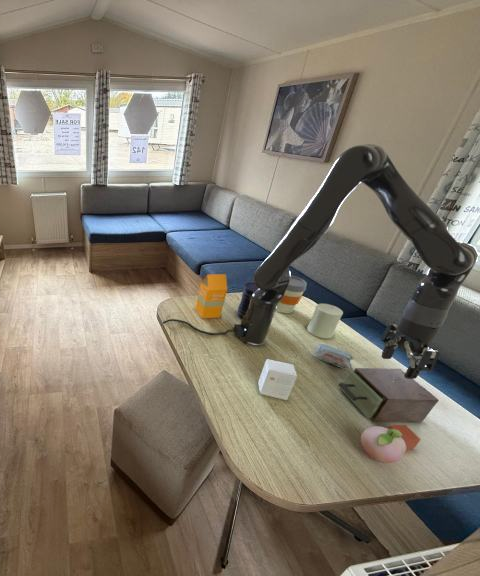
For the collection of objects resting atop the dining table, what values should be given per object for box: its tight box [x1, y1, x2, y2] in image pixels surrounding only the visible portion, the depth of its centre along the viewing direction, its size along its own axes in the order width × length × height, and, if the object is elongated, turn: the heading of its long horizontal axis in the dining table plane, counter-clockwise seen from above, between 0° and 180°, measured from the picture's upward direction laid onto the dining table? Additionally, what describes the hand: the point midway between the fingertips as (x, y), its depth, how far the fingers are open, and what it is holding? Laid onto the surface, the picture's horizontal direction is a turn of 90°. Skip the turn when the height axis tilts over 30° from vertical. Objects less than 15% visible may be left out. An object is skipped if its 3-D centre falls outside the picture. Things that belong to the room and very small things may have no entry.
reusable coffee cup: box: [275, 274, 308, 314], centre depth 145 cm, size 13×13×15 cm
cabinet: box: [353, 367, 440, 424], centre depth 95 cm, size 15×13×10 cm
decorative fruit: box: [360, 425, 407, 464], centre depth 80 cm, size 9×8×10 cm
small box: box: [257, 358, 298, 401], centre depth 99 cm, size 8×6×10 cm
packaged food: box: [312, 343, 354, 371], centre depth 114 cm, size 9×12×5 cm
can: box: [306, 303, 344, 339], centre depth 129 cm, size 9×9×12 cm
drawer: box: [338, 370, 385, 419], centre depth 95 cm, size 18×11×8 cm, turn 90°
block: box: [387, 424, 422, 451], centre depth 85 cm, size 4×4×4 cm
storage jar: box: [236, 282, 258, 320], centre depth 137 cm, size 10×10×15 cm
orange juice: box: [195, 273, 228, 319], centre depth 138 cm, size 8×9×20 cm
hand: (396, 367), depth 87 cm, fingers open, 8 cm apart
